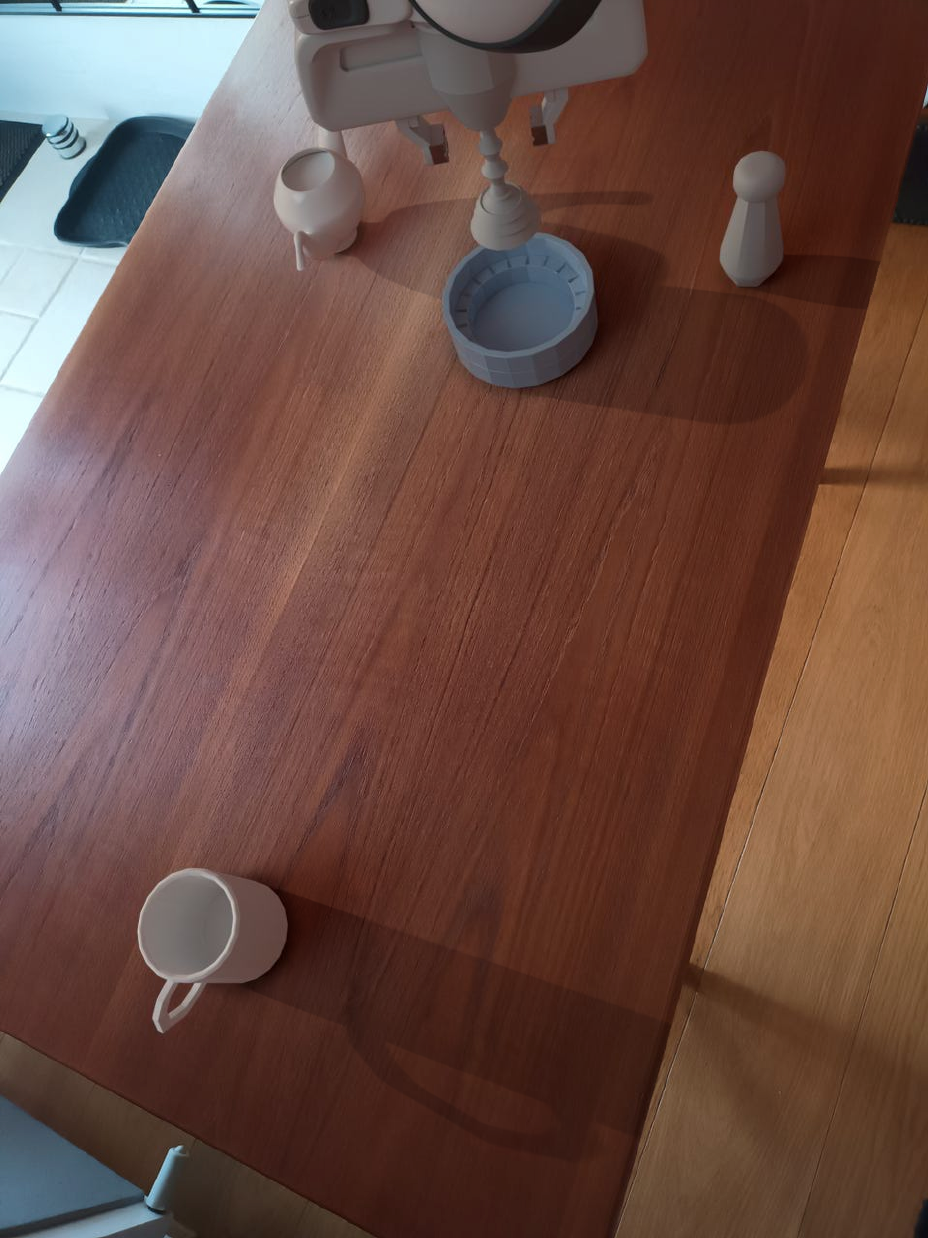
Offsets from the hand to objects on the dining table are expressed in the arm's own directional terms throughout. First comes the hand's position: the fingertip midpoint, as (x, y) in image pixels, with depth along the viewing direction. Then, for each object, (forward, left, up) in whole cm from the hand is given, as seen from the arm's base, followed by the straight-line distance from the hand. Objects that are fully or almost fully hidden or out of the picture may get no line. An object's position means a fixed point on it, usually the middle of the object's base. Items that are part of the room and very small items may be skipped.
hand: (490, 147), depth 62 cm
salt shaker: (-20, -13, -32) cm, 40 cm away
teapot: (+22, -26, -32) cm, 47 cm away
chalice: (0, 0, -7) cm, 7 cm away
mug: (+29, +48, -32) cm, 64 cm away
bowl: (+2, -10, -32) cm, 33 cm away
